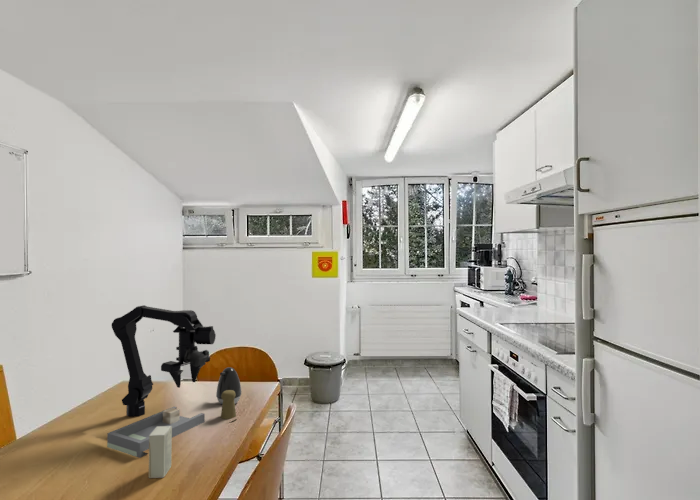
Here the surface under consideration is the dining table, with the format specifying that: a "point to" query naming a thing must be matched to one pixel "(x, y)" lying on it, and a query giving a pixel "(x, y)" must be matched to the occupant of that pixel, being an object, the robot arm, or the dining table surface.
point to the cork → (228, 405)
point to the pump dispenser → (228, 384)
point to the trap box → (147, 433)
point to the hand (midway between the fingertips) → (186, 384)
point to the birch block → (171, 415)
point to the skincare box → (160, 451)
